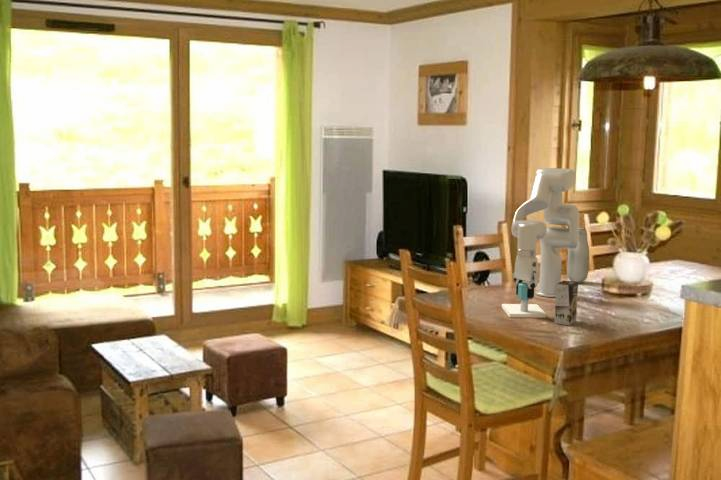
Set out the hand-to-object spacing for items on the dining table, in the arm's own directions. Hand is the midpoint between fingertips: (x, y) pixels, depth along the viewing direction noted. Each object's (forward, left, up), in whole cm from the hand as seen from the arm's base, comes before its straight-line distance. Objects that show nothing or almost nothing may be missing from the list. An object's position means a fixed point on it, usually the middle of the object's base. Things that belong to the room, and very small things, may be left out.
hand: (524, 295), depth 323 cm
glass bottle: (-41, -69, -8) cm, 81 cm away
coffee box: (-14, +13, -8) cm, 21 cm away
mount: (0, -3, -8) cm, 8 cm away
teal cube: (0, 0, -1) cm, 1 cm away
